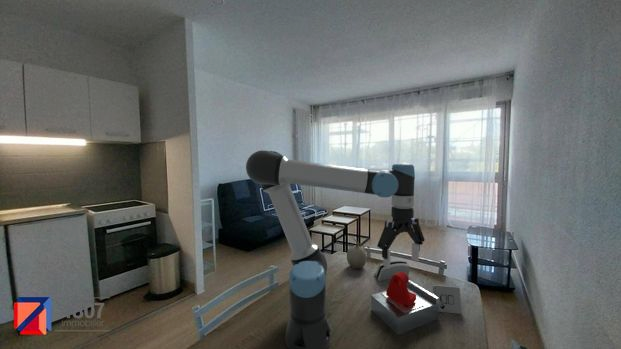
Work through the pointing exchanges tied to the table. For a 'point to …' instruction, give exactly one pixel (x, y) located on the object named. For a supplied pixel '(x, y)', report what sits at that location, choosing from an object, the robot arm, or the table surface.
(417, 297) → the grey ridged box
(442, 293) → the electrical switch
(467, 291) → the table surface
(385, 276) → the grey curved slab
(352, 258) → the fruit
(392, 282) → the bracket
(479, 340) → the table surface
